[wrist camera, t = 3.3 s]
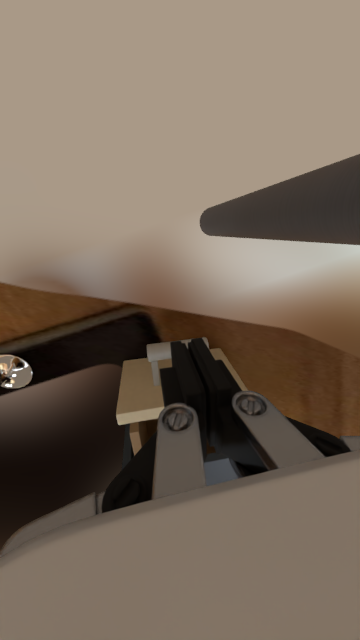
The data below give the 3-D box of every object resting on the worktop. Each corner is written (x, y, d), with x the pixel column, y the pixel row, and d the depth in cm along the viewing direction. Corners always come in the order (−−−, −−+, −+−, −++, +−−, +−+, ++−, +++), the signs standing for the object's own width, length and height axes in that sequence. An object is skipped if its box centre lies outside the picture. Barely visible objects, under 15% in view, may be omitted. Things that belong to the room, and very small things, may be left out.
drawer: (117, 326, 22) (105, 371, 15) (220, 314, 24) (253, 350, 17) (139, 442, 29) (137, 510, 22) (218, 427, 31) (240, 486, 24)
